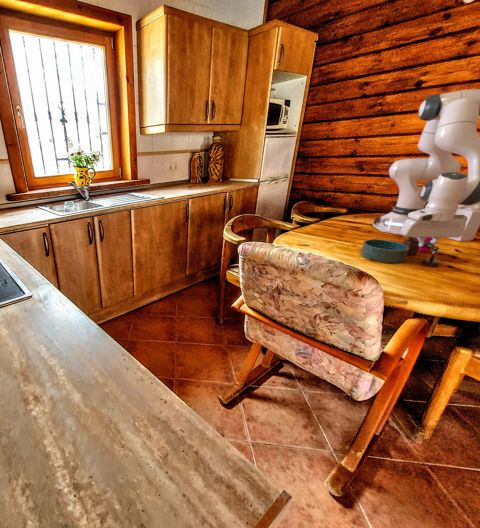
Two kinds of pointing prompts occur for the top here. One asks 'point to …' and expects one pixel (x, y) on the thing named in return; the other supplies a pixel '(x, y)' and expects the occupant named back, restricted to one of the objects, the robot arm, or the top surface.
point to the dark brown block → (411, 247)
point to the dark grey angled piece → (431, 261)
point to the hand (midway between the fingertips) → (425, 246)
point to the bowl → (384, 251)
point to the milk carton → (469, 221)
